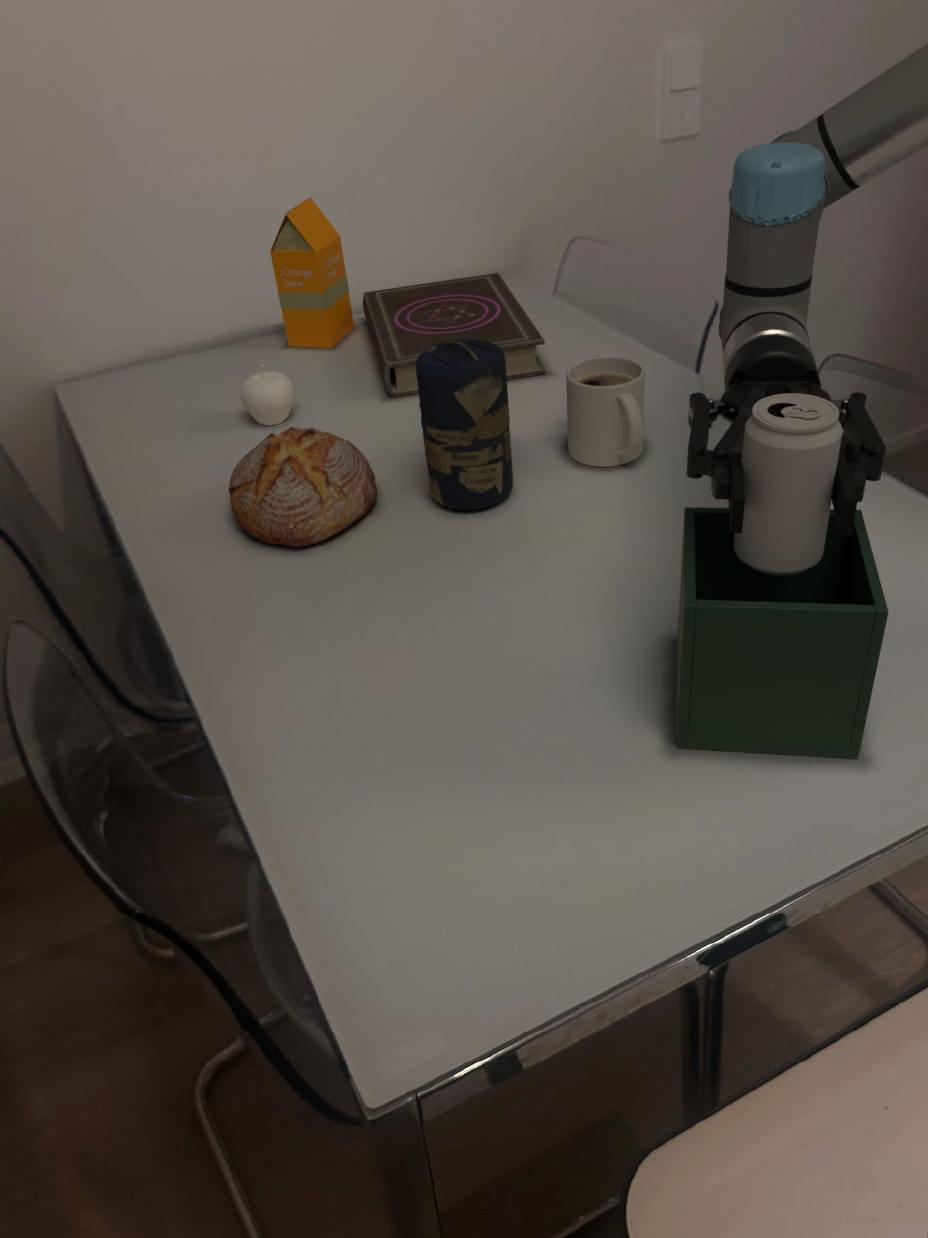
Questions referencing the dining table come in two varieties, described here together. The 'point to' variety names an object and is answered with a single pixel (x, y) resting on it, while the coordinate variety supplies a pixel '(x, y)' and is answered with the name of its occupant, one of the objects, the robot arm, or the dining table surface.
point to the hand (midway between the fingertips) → (792, 516)
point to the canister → (465, 422)
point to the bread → (301, 487)
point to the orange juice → (311, 279)
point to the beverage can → (788, 482)
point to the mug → (605, 410)
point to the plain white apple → (268, 396)
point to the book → (448, 326)
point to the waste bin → (776, 645)
